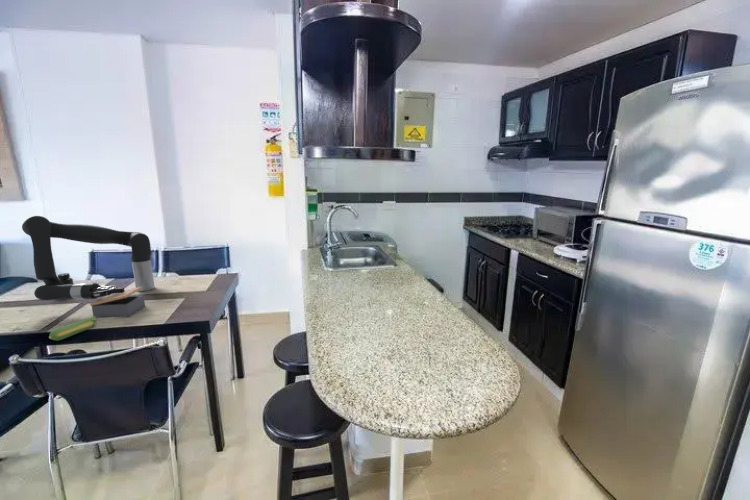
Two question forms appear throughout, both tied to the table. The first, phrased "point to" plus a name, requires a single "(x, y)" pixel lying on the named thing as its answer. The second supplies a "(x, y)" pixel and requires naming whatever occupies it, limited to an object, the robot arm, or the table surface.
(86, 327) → the edible corn
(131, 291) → the panel
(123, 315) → the duct box
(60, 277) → the supplement bottle
